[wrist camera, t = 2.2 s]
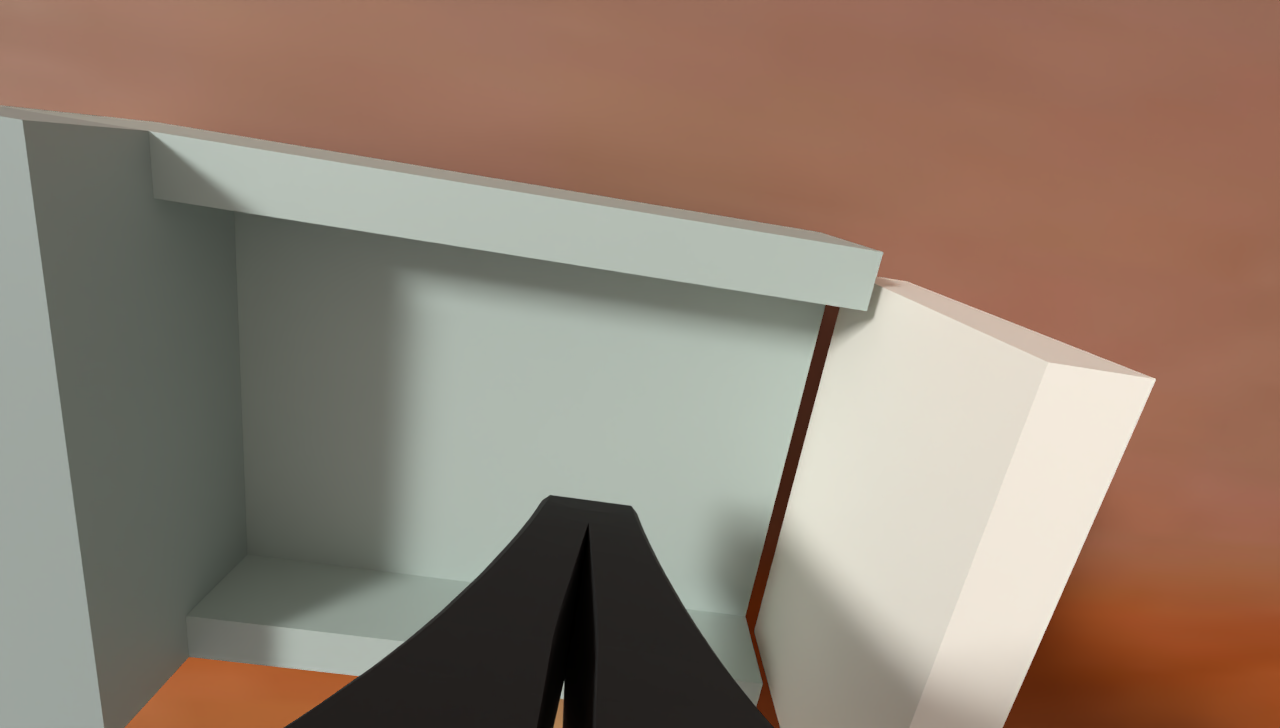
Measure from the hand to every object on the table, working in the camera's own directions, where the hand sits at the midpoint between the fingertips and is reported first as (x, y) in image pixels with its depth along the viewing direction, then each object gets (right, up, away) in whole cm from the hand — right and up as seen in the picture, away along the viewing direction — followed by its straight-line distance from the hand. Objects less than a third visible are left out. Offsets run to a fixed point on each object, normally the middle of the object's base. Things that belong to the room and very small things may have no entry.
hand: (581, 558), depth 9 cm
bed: (-3, +2, +6) cm, 7 cm away
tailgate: (+5, 0, +4) cm, 7 cm away
